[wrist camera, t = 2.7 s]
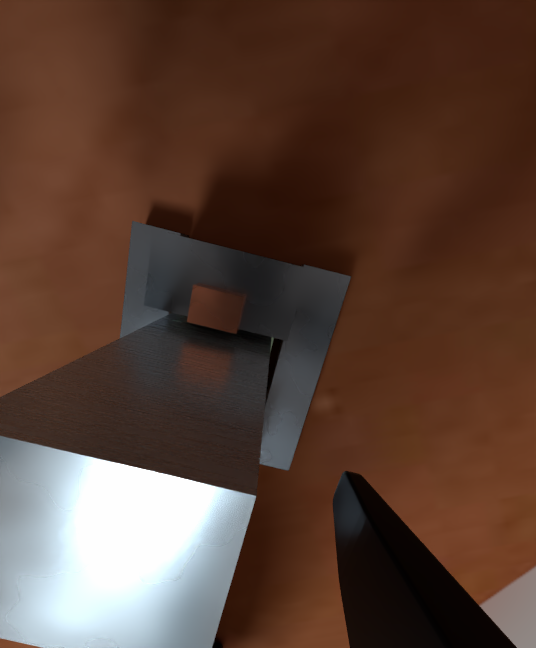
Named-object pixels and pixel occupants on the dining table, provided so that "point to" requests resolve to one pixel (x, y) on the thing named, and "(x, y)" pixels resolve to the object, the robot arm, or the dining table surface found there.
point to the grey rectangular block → (131, 489)
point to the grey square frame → (241, 314)
